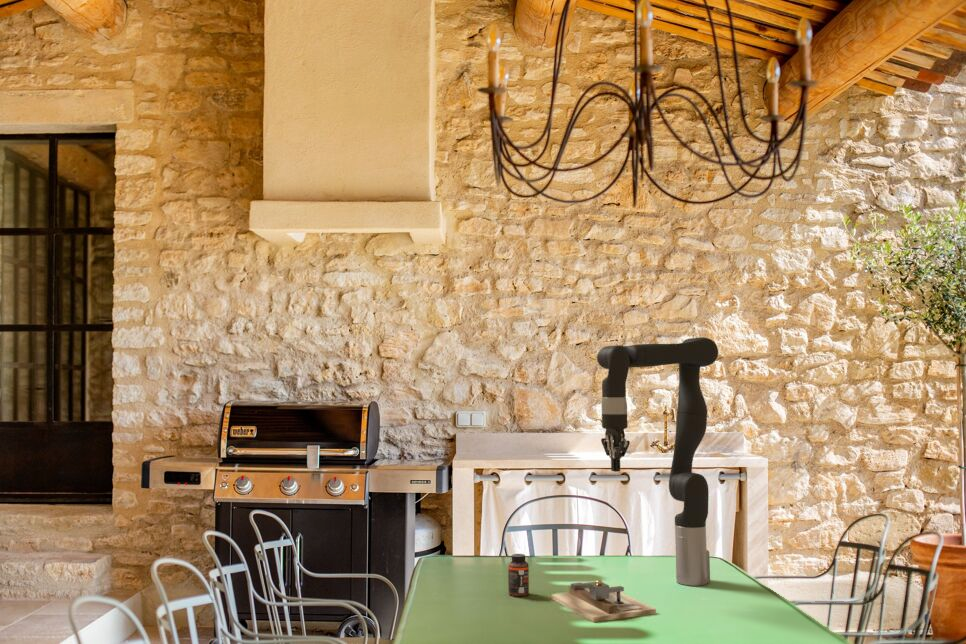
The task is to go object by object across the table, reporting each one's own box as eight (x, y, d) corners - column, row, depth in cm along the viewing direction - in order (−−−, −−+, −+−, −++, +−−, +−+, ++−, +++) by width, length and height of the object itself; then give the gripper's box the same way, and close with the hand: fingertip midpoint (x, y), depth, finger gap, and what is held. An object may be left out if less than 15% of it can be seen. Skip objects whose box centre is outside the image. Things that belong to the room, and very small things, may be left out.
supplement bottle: (527, 597, 228) (526, 557, 229) (506, 596, 229) (506, 556, 230) (530, 592, 234) (529, 553, 235) (510, 591, 235) (509, 552, 236)
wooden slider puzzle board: (609, 591, 234) (608, 580, 234) (656, 613, 211) (655, 601, 212) (551, 598, 227) (551, 587, 227) (593, 622, 204) (593, 609, 205)
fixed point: (598, 590, 229) (598, 580, 229) (602, 592, 227) (602, 582, 227) (571, 593, 226) (570, 583, 226) (575, 595, 224) (574, 585, 224)
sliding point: (619, 599, 219) (618, 576, 219) (626, 602, 215) (625, 579, 216) (589, 603, 215) (589, 579, 216) (596, 606, 212) (595, 583, 212)
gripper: (637, 413, 233) (638, 472, 231) (613, 411, 245) (615, 468, 244) (615, 413, 230) (616, 474, 229) (592, 412, 242) (593, 469, 241)
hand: (615, 471), depth 236 cm, fingers closed
